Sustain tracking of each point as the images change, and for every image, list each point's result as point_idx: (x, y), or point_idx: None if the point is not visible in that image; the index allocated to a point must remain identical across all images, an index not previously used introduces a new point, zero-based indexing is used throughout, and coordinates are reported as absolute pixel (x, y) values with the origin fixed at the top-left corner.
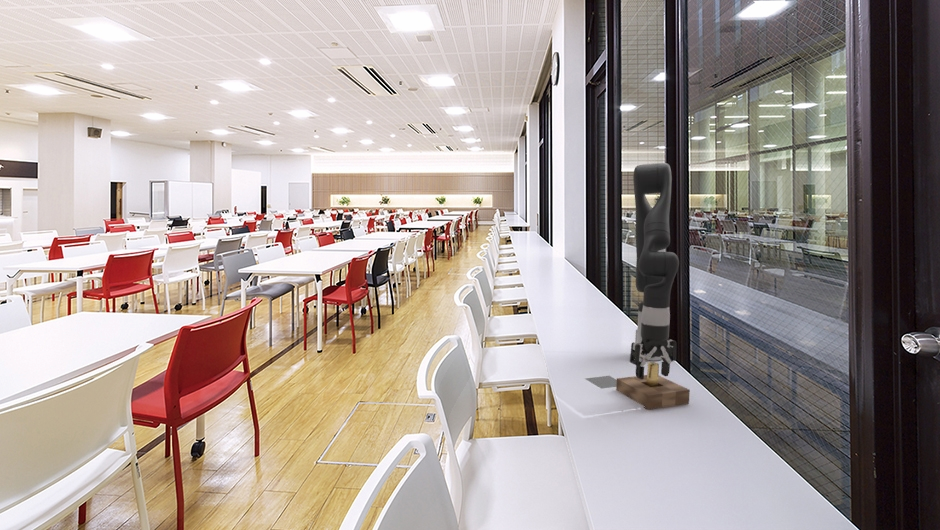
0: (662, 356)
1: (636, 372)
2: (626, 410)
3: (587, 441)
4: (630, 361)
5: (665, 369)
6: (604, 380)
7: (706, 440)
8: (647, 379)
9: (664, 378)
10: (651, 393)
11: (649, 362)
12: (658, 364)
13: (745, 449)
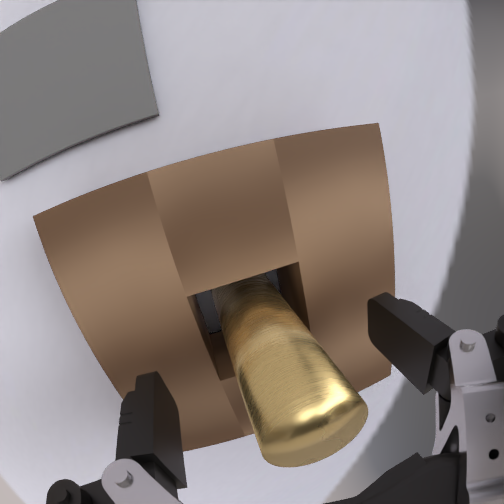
0: (442, 442)
1: (124, 423)
2: (85, 401)
3: (19, 481)
4: (54, 499)
5: (396, 358)
6: (61, 46)
7: (252, 496)
8: (228, 347)
9: (387, 221)
10: (189, 440)
11: (302, 413)
12: (351, 437)
13: (301, 498)
